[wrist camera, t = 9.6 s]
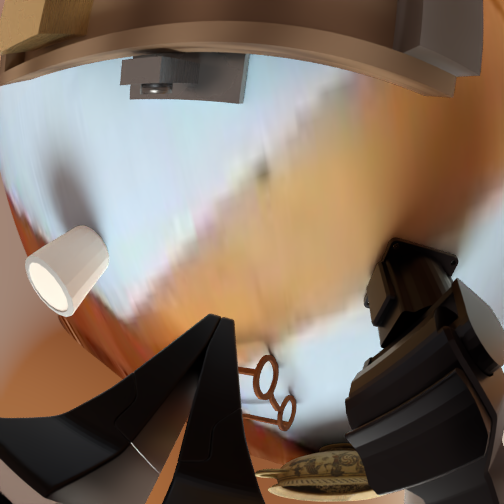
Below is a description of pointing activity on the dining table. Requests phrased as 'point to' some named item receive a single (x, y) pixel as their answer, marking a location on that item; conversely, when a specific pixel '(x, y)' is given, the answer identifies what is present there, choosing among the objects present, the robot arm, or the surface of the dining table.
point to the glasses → (269, 394)
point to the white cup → (67, 269)
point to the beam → (282, 37)
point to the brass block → (41, 23)
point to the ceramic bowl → (322, 476)
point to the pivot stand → (187, 76)
